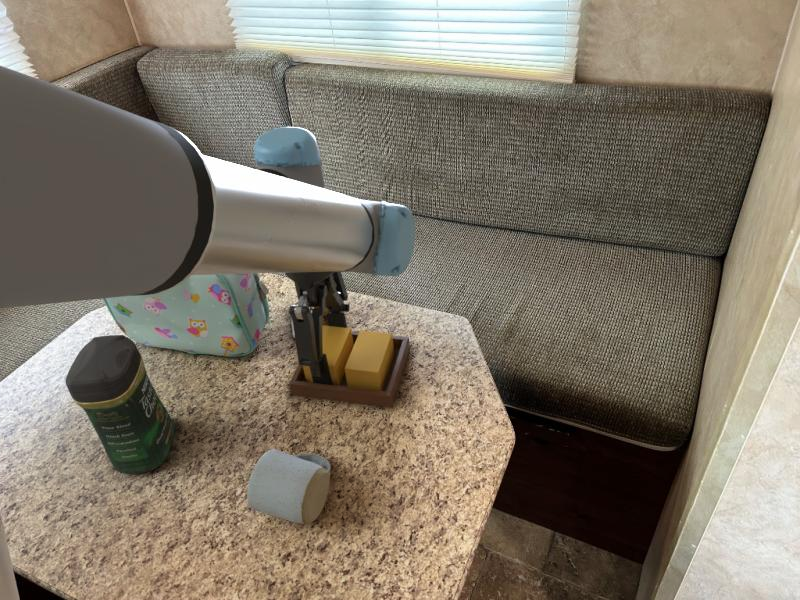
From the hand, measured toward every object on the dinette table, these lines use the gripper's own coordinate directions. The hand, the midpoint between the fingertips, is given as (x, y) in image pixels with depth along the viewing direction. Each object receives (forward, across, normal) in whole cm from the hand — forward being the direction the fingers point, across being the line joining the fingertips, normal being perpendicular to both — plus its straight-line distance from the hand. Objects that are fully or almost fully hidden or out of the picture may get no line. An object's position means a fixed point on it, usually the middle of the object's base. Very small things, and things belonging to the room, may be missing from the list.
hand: (332, 364), depth 95 cm
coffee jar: (+1, -19, +22) cm, 29 cm away
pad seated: (0, 0, -6) cm, 6 cm away
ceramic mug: (+1, -22, -2) cm, 23 cm away
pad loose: (0, 0, 0) cm, 0 cm away
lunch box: (+1, +4, +25) cm, 25 cm away
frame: (+1, 0, -3) cm, 3 cm away
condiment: (+1, +11, +7) cm, 13 cm away
